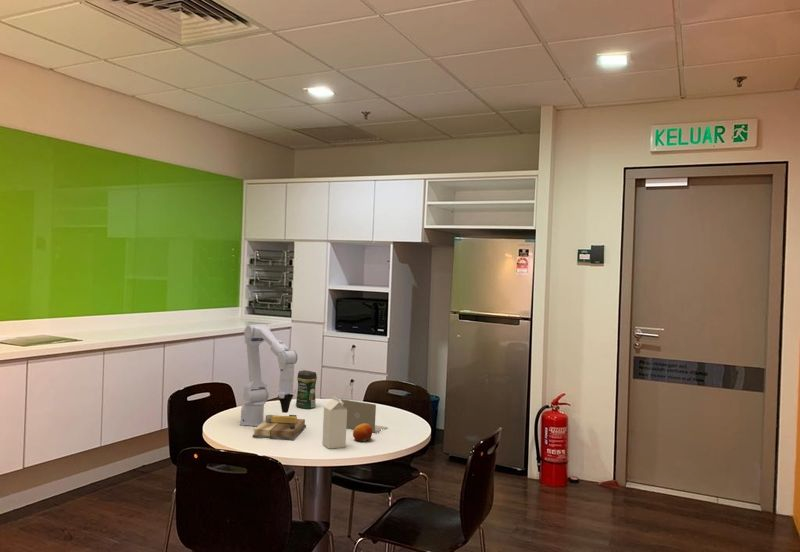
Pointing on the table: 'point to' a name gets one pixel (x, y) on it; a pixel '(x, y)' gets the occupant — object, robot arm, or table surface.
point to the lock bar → (281, 419)
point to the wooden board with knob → (280, 430)
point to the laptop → (361, 415)
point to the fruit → (362, 432)
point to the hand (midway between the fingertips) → (285, 412)
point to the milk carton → (334, 424)
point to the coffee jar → (306, 389)
